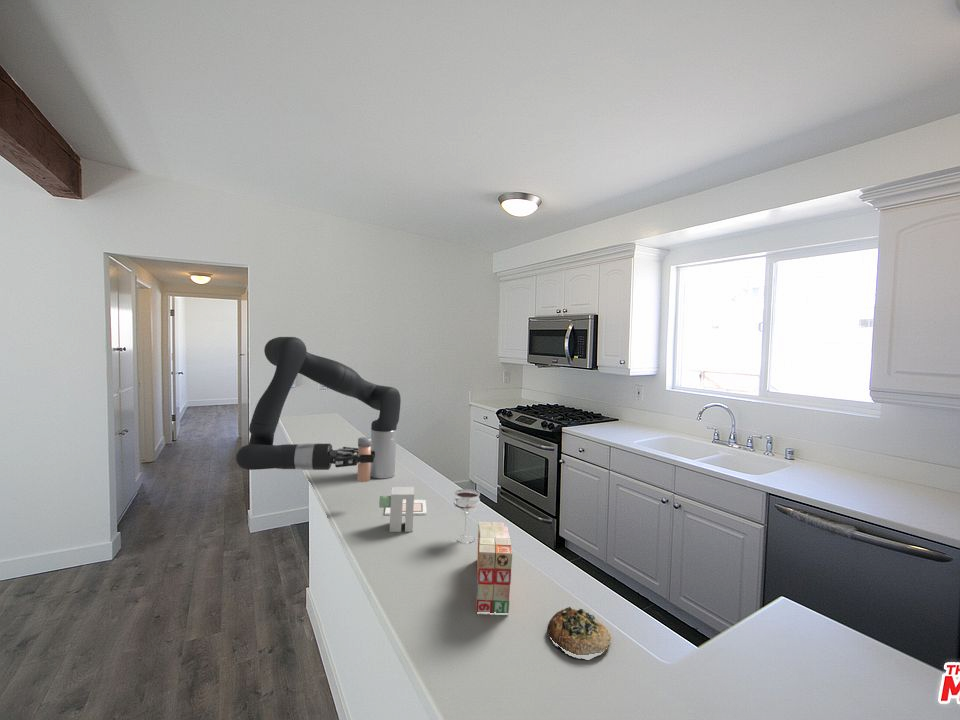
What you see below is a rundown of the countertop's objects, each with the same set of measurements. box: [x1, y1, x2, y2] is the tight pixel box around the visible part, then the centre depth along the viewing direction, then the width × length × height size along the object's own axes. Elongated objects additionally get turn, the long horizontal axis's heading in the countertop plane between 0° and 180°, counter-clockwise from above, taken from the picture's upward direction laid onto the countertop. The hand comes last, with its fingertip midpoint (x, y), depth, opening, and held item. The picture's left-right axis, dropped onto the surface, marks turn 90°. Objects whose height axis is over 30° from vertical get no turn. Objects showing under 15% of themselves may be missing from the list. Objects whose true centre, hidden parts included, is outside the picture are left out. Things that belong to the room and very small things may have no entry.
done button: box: [378, 495, 391, 509], centre depth 119 cm, size 3×4×3 cm
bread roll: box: [546, 606, 612, 655], centre depth 77 cm, size 11×11×5 cm
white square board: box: [384, 499, 428, 516], centre depth 134 cm, size 11×12×1 cm
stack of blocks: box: [475, 521, 513, 613], centre depth 93 cm, size 21×6×12 cm, turn 0°
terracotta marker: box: [356, 436, 371, 483], centre depth 131 cm, size 4×4×12 cm
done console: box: [389, 486, 415, 533], centre depth 120 cm, size 6×6×10 cm
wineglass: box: [453, 488, 481, 544], centre depth 114 cm, size 7×7×12 cm
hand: (374, 456), depth 131 cm, fingers closed on terracotta marker, 3 cm apart
